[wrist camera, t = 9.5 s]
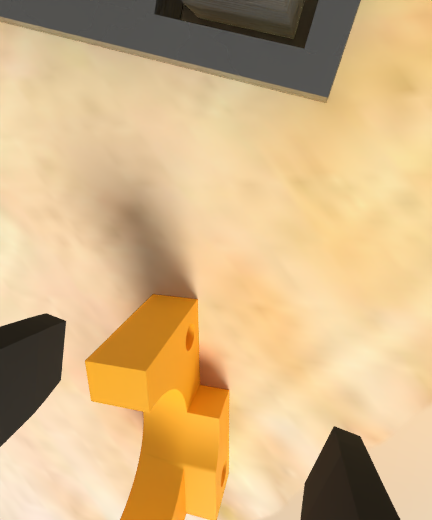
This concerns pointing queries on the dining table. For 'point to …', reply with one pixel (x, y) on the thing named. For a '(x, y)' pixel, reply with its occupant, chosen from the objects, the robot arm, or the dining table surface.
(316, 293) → the dining table surface
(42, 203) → the dining table surface
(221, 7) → the block
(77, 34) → the dark grey flat frame
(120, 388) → the pipe clamp
